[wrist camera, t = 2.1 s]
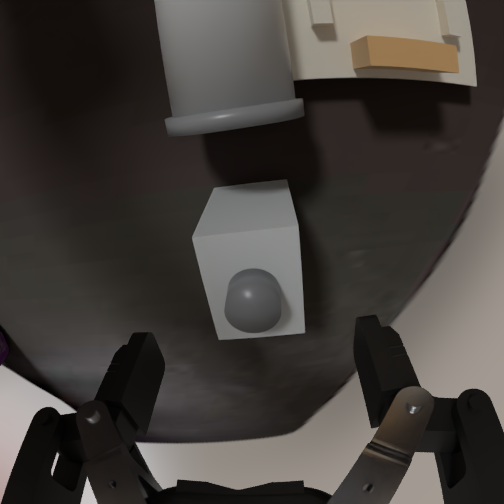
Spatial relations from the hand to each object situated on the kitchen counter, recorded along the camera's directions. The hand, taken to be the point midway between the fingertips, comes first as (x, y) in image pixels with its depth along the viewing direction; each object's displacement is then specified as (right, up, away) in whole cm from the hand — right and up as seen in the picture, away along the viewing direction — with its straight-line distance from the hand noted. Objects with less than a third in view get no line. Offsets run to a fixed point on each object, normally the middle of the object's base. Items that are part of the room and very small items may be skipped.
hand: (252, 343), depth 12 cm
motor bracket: (+4, +18, +1) cm, 19 cm away
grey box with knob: (0, +5, +9) cm, 10 cm away
